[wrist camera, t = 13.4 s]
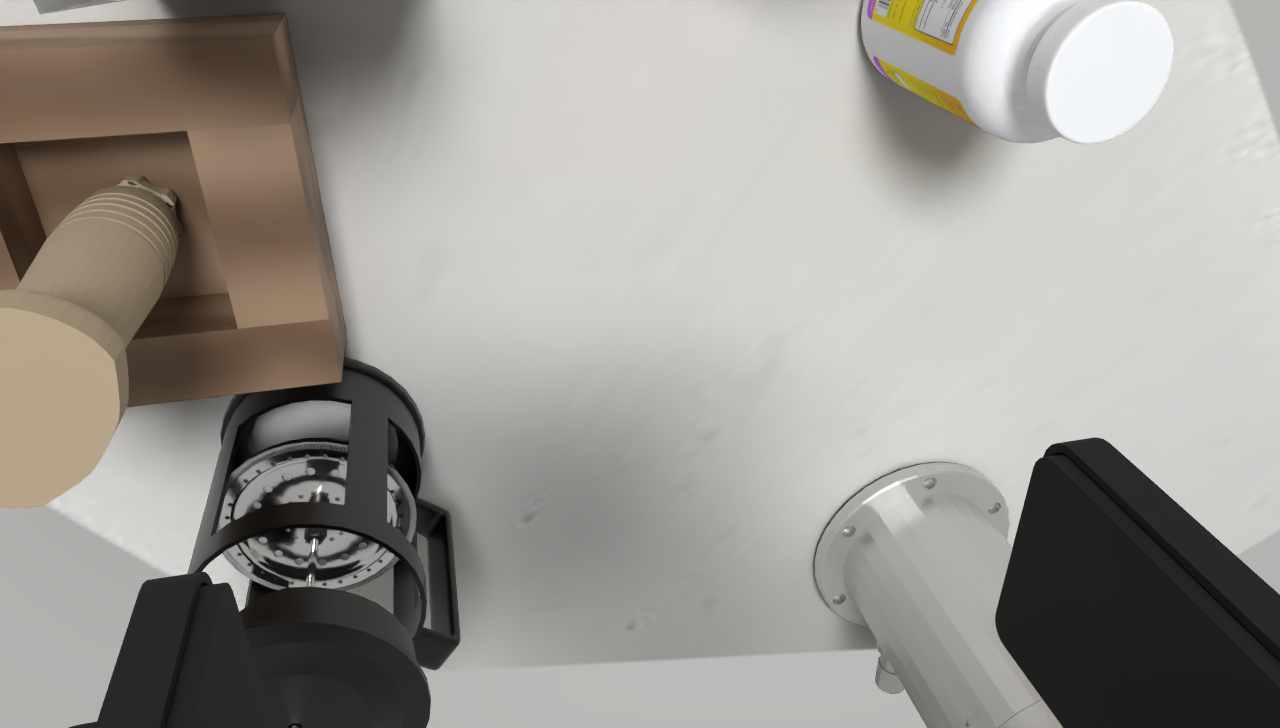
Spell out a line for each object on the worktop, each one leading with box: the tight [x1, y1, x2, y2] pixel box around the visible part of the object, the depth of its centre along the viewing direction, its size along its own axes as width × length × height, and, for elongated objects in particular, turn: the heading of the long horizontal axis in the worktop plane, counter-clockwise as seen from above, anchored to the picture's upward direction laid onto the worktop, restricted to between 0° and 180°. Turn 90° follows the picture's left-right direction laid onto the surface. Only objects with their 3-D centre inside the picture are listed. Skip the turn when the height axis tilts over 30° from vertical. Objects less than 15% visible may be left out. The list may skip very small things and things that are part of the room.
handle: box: [0, 175, 182, 508], centre depth 31 cm, size 5×6×15 cm
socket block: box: [0, 13, 346, 407], centre depth 36 cm, size 14×14×4 cm
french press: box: [188, 358, 460, 728], centre depth 37 cm, size 12×9×23 cm
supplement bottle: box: [861, 0, 1173, 144], centre depth 36 cm, size 7×7×13 cm
